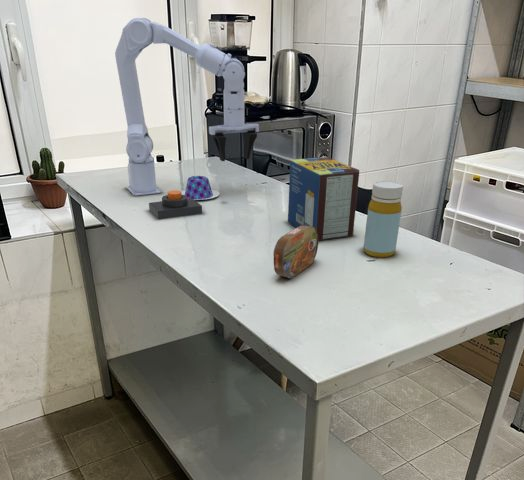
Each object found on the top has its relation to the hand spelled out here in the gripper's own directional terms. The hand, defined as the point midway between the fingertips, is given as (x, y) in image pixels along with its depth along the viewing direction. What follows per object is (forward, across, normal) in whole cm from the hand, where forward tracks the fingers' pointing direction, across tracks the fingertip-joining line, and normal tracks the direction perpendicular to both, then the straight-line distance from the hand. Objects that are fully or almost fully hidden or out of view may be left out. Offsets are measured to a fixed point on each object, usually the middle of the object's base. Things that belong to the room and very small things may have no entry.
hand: (234, 159), depth 156 cm
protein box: (+10, +6, -39) cm, 41 cm away
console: (+9, -22, -12) cm, 27 cm away
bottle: (+10, +10, -58) cm, 60 cm away
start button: (+6, -23, -12) cm, 26 cm away
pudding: (+10, -12, 0) cm, 15 cm away
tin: (+10, -12, -59) cm, 61 cm away
